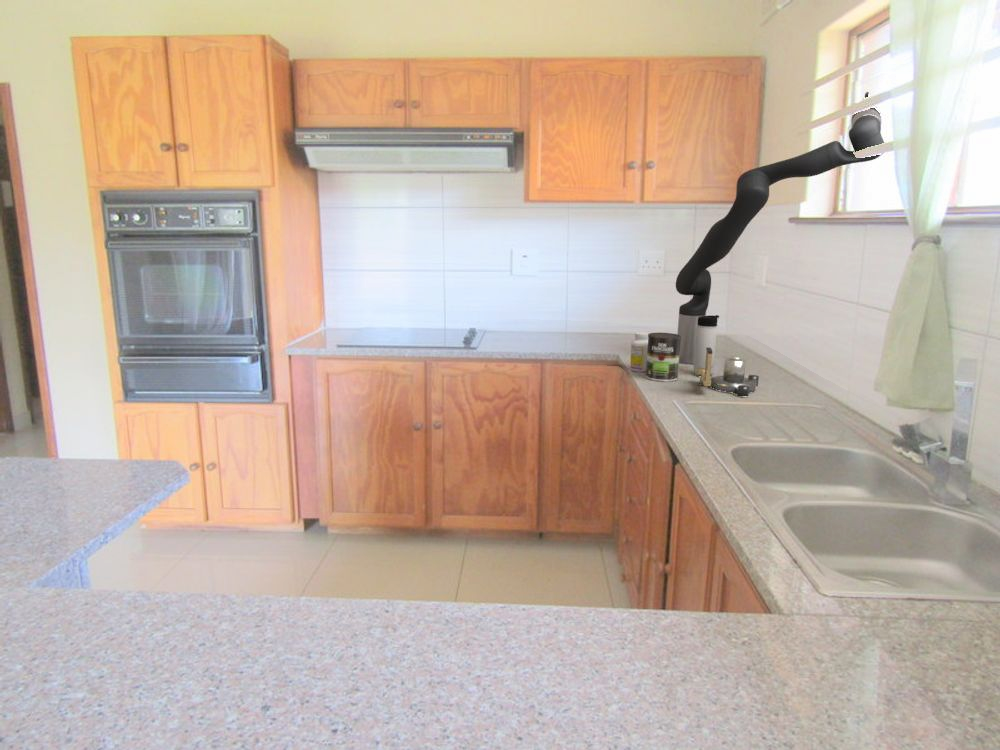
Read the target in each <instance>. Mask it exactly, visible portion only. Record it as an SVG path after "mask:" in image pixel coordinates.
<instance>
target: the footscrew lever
mask: <svg viewBox="0 0 1000 750" xmlns="http://www.w3.org/2000/svg"><path fill="white" fill-rule="evenodd" d="M706 350H707V352H706V363H705V368H697V370H696V375H697V376H696V377H698V376H701V379H702V382H703V385H704V386H703V387H708V386H711V379H710V378H711V377H712V376H711V360H712V353H713V351H712V349H711V348H706ZM710 376H711V377H710Z"/></svg>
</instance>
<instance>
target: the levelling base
mask: <svg viewBox="0 0 1000 750" xmlns="http://www.w3.org/2000/svg"><path fill="white" fill-rule="evenodd" d="M746 363H747V360H746V359H745V358H742V357H741V356H738V355H734V356H733V355H731V356H730V357H726V358H724V365H723V374H722V375H716V376H715V375H714V376H711V377H710V379H711V387H712V388H714V389H717V390H721V391H726V392H733V393H735V394H737V395H738V396H748V397H749V393H750V392H753V393H755V392H756V386H757V387H758V385H759V379H760V377H759V375H755V374H749V375H748V377H745V374H746ZM699 384H701V385H703V382H702V379H701V377H699ZM701 385H700V386H701ZM711 387H710V388H711ZM712 388H711V389H712ZM754 391H755V392H754ZM735 394H734V395H735ZM750 394H751V393H750ZM738 396H737V397H738Z"/></svg>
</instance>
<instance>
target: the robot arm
mask: <svg viewBox="0 0 1000 750" xmlns="http://www.w3.org/2000/svg"><path fill="white" fill-rule="evenodd" d="M869 92H870V91H869ZM869 92H868V91H866V92H865V94H864V97H865V98H866V97H868V96H870V95H869ZM853 114H854V113H853ZM853 114H852V116H851V125H850V126H851V128H850V129H849V130H848V138H849V141H850V143H851V145H852V146H851V147H852V148H853V150H847V149H846V148H845V147H844V146H843V145H842V143H841V141H840V142H839V141H838V140H834V141H831V142H828V143H826V144H824V145H822V146H819V147H817V148H814V149H812V150H810V151H808V152H804V153H803V154H800V155H798V156H794V157H790V158H788V159H784V160H780V161H776V162H774V163H771V164H766V165H763V166H759V167H756V168H751V169H749V170H747V171H745V172H743V173H741V175H740V176H739V177H738V178H737V181H736V189H735V190H736V191H735V192H736V193H735V194H736V195H735V199H734V201H733V204H732V206H731V208H730V210H729V211H728V212H727V214H726V216H724V217H723V218H721V219H720V220H718V221H716V222H715V223H714V224H713V225H712V226H711V227H710V229H709V230H708V232H707V233H706V235H705V236H704V238H703V240H702V242H701V244H700V245H699V246H698V248H697V249H696V251H695V252H694V254H693V255H692V256H691V258H690V259H689V260H688V261H687V262H686V264H685V265H684V266H683V267H682V268H681V270H680V271H679V273H678V275H677V276H676V280H675V289H676V292H678V294H679V295H684V296H692V298H691V299H690V300H689V301H687V302H685V303H684V304H681V305H680V306H679V309H678V322H677V333H676V334H677V335H680V336H681V342H680V354H679V363H682V364H689V365H694V356H695V344H696V332H697V323H698V317H701V316H707V315H706V314H707V310H708V307H709V303H710V296H711V295H710V294H711V289H712V276H711V273H710V271H709V270H708V268H709V267H712V266H714V265H715V264H716V263H718V262H720V261H722V260H723V259H724V258H726V256H727V255H729V253H730V252H731V250H732V249H733V247H734V246H735V244H736V243H737V242H738V239H739V238H740V237H741V235H742V234H743V233H744V231H745V229H746V228H747V226H748V225H749V224H750V223H751V222H752V220H753V219H754V218H755V217H756V216H757V215H758V213H760V212H761V211H762V209H763V208H764V207H765V206H766V204H767V202H768V201H769V198H770V186H772V185H774V184H777V182H779V181H783V180H787V179H792V178H810V177H814V176H815V177H816V176H818V175H820V174H824V173H826V172H829V171H831V170H833V169H836V168H839V167H842V166H846V165H851V164H857V163H865V162H870V161H874V160H876V159H879V157H881V156H882V155H883V153H882V154H881V155H876V156H871V157H865V158H856V157H855V155H854V154H853V152H854V151H855V152H856V151H859V150H862V149H865V148H867V147H871V146H875V145H879V144H882V143H885V141H884V139H883V136H882V134H881V129H882V128H881V127H882V126H881V125H882V115H881V116H880V114H881V112H880V113H879V112H878V111H877V110H876V109H875V108H870V109H868V110H865V111H861V112H858V113H856V114H854V115H853Z"/></svg>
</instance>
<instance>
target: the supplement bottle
mask: <svg viewBox="0 0 1000 750" xmlns="http://www.w3.org/2000/svg"><path fill="white" fill-rule="evenodd" d="M648 334H650V333H649V332H645V331H636V332H635V333H634V337H635V339H632V341H631V347H630V362H629V363H630V364H629V366H630V367H629V369H630V371H632V372H635V373H646V364H647V350H648Z"/></svg>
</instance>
